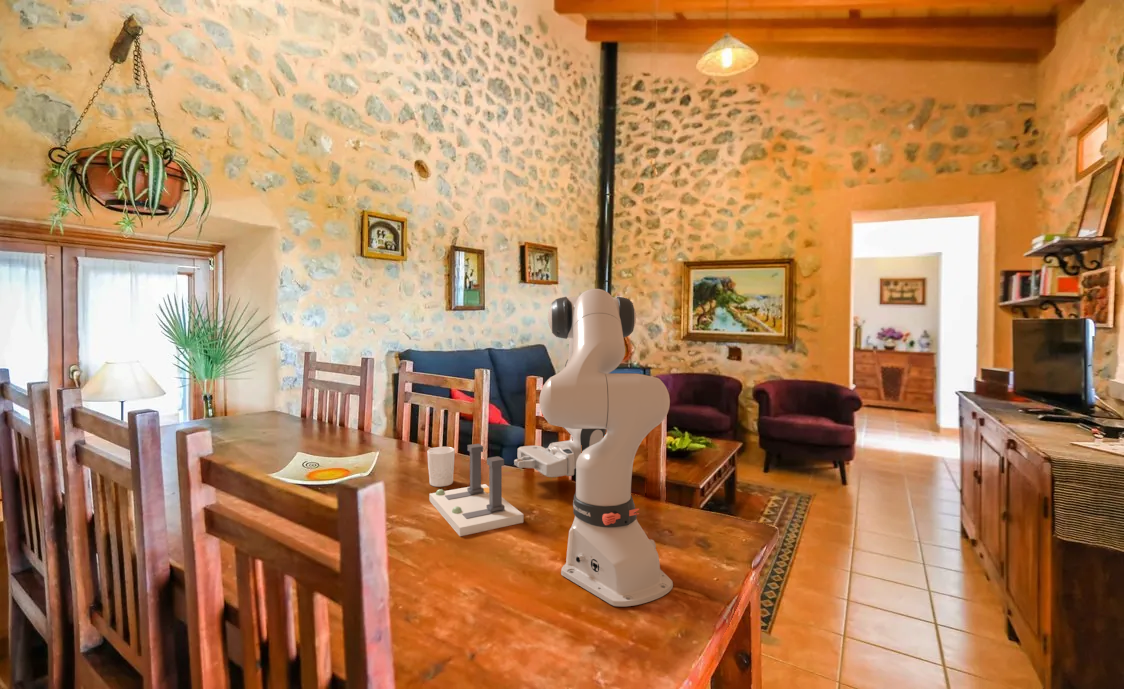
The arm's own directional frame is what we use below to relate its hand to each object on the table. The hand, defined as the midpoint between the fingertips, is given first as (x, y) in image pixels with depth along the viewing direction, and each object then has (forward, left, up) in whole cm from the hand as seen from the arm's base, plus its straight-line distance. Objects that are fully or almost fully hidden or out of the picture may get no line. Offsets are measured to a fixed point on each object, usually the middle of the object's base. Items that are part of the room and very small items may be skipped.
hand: (516, 463), depth 145 cm
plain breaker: (-14, +12, -6) cm, 20 cm away
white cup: (+18, +16, -8) cm, 26 cm away
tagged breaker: (0, +12, -6) cm, 13 cm away
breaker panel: (-7, +15, -8) cm, 19 cm away
